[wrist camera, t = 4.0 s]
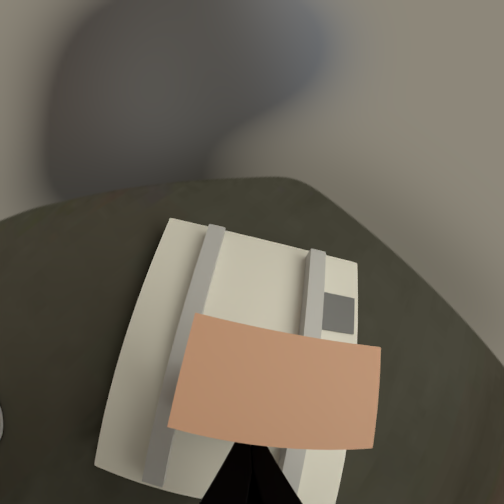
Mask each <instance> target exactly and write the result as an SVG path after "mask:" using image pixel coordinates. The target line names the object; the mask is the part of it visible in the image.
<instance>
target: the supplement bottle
mask: <svg viewBox="0 0 504 504" xmlns="http://www.w3.org/2000/svg"><path fill="white" fill-rule="evenodd" d="M2 433H3V415H2V410H1V407H0V439H1V437H2Z"/></svg>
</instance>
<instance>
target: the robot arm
mask: <svg viewBox="0 0 504 504" xmlns="http://www.w3.org/2000/svg"><path fill="white" fill-rule="evenodd" d="M199 504H303V503H302V502H301V500H300V499H299V497H298V496H297V494H296V493H295V491H294V490H293V488H292V486H291V485H290V483H289V482H288V480H287V479H286V477H285V475H284V474H283V472H282V470H281V469H280V467H279V465H278V464H277V462H276V460H275V459H274V457H273V455H272V454H271V452H270V450H269V448H268V447H267V446H259V445H251V444H244V443H238V442H234V444H233V446H232V448H231V450H230V452H229V453H228V455H227V457H226V459H225V461H224V462H223V464H222V466H221V468H220V469H219V471H218V473H217V474H216V476H215V478H214V480H213V481H212V483H211V485H210V486H209V488H208V490H207V491H206V493H205V495H204V496H203V498H202V499H201V501H200V503H199Z"/></svg>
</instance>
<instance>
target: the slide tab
mask: <svg viewBox="0 0 504 504" xmlns="http://www.w3.org/2000/svg"><path fill="white" fill-rule="evenodd" d="M380 357H381V347H374V346H366V345H359V344H352V343H345V342H338V341H331V340H325V339H319V338H313V337H307V336H301V335H296V334H290V333H285V332H280V331H275V330H270V329H265V328H260V327H255V326H250V325H246V324H241V323H237V322H232V321H228V320H224V319H219V318H215V317H211V316H207V315H203V314H199V313H195V315H194V319H193V323H192V327H191V330H190V334H189V338H188V342H187V346H186V350H185V354H184V358H183V362H182V366H181V370H180V374H179V378H178V382H177V386H176V390H175V395H174V399H173V403H172V408H171V412H170V416H169V421H168V425H167V427H169V428H173V429H176V430H180V431H184V432H188V433H192V434H196V435H201V436H205V437H210V438H215V439H220V440H226V441H232V442H238V443H244V444H251V445H259V446H268V447H278V448H291V449H312V450H347V449H367V448H372V447H373V441H374V433H375V425H376V417H377V407H378V395H379V380H380Z"/></svg>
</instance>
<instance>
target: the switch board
mask: <svg viewBox="0 0 504 504" xmlns="http://www.w3.org/2000/svg"><path fill="white" fill-rule="evenodd" d="M195 313H199V314H203V315H207V316H211V317H215V318H219V319H224V320H228V321H232V322H237V323H241V324H246V325H250V326H255V327H260V328H265V329H270V330H275V331H280V332H285V333H290V334H296V335H301V336H307V337H313V338H319V339H325V340H331V341H338V342H345V343H352V344H357V326H358V276H357V263H355V262H351V261H347V260H343V259H339V258H335V257H331V256H327V255H326V252H323V251H319V250H315V249H310V251H307V250H303V249H299V248H295V247H291V246H287V245H283V244H279V243H275V242H271V241H267V240H262V239H258V238H254V237H250V236H246V235H242V234H237V233H233V232H229V231H225V227H221V226H217V225H212V224H209V227H208V226H204V225H199V224H195V223H191V222H186V221H182V220H178V219H173V218H170V219H169V222H168V224H167V226H166V229H165V231H164V233H163V236H162V238H161V240H160V243H159V245H158V248H157V250H156V253H155V255H154V258H153V260H152V263H151V265H150V268H149V270H148V273H147V276H146V278H145V281H144V284H143V286H142V289H141V292H140V295H139V297H138V300H137V303H136V306H135V309H134V312H133V315H132V317H131V320H130V323H129V327H128V330H127V333H126V336H125V339H124V342H123V346H122V349H121V352H120V355H119V359H118V362H117V366H116V369H115V373H114V377H113V380H112V384H111V388H110V392H109V396H108V400H107V404H106V408H105V412H104V417H103V421H102V426H101V431H100V436H99V441H98V446H97V452H96V457H95V463H94V465H95V466H97V467H100V468H102V469H104V470H107V471H109V472H111V473H114V474H117V475H119V476H122V477H124V478H127V479H130V480H133V481H136V482H139V483H142V484H145V485H148V486H151V487H155V488H158V489H162V490H165V491H169V492H173V493H177V494H181V495H186V496H190V497H195V498H200V499H202V498H203V496H204V495H205V493H206V491H207V490H208V488H209V486H210V485H211V483H212V481H213V480H214V478H215V476H216V474H217V473H218V471H219V469H220V468H221V466H222V464H223V462H224V461H225V459H226V457H227V455H228V453H229V452H230V450H231V448H232V446H233V444H234V442H232V441H226V440H220V439H215V438H210V437H205V436H201V435H196V434H192V433H188V432H184V431H180V430H176V429H173V428H169V427H167V425H168V421H169V416H170V412H171V408H172V403H173V399H174V395H175V390H176V386H177V382H178V378H179V374H180V370H181V366H182V362H183V358H184V354H185V350H186V346H187V342H188V338H189V334H190V330H191V327H192V323H193V319H194V315H195ZM267 447H268V446H267ZM268 448H269V450H270V452H271V454H272V455H273V457H274V459H275V460H276V462H277V464H278V465H279V467H280V469H281V470H282V472H283V474H284V475H285V477H286V479H287V480H288V482H289V483H290V485H291V486H292V488H293V490H294V491H295V493H296V494H297V496H298V497H299V499H300V500H301V502H302V503H303V504H335V502H336V498H337V494H338V489H339V485H340V480H341V475H342V470H343V465H344V459H345V454H346V450H312V449H291V448H278V447H268Z"/></svg>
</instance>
